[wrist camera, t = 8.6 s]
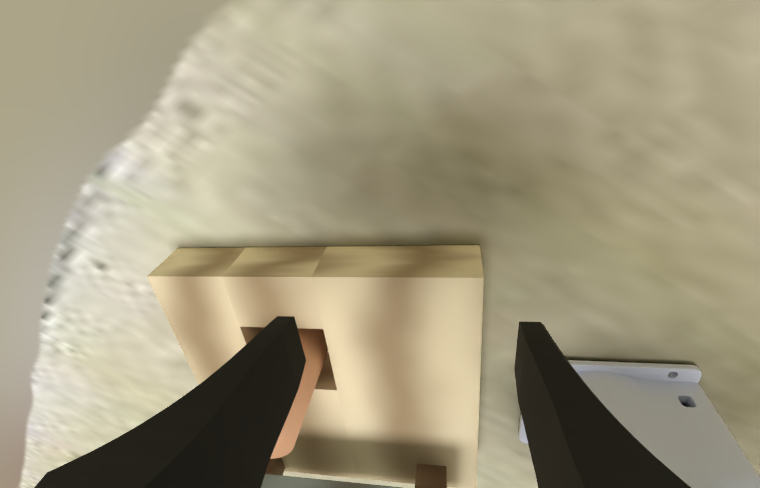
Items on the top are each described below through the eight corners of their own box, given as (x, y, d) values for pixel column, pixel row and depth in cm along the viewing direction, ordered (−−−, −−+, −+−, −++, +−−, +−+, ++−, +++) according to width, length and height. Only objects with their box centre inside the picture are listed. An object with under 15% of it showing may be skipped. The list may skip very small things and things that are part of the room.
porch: (479, 245, 21) (491, 338, 15) (474, 448, 30) (479, 557, 24) (178, 248, 25) (92, 325, 19) (254, 431, 34) (211, 523, 28)
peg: (331, 300, 25) (287, 412, 18) (338, 347, 27) (300, 463, 20) (271, 296, 26) (206, 403, 19) (281, 342, 28) (226, 453, 21)
